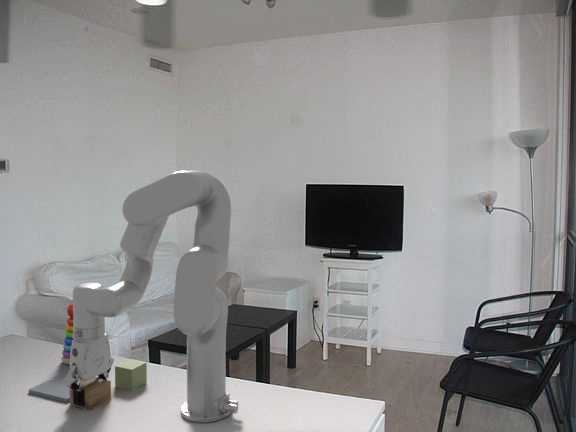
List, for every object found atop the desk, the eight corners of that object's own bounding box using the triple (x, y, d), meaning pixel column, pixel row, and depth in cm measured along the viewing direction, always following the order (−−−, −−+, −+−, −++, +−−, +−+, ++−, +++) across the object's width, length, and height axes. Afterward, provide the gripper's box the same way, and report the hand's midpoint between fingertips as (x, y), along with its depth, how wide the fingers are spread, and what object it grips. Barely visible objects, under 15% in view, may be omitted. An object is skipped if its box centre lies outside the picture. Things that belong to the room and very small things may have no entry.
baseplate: (106, 382, 146) (106, 379, 146) (67, 402, 134) (67, 399, 133) (69, 374, 152) (69, 371, 152) (28, 393, 139) (28, 389, 139)
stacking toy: (70, 367, 157) (69, 307, 156) (56, 361, 162) (55, 302, 161) (94, 360, 164) (92, 302, 162) (80, 354, 168) (78, 298, 167)
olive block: (146, 382, 147) (146, 362, 146) (132, 391, 141) (132, 369, 141) (129, 379, 149) (129, 359, 149) (115, 387, 144) (114, 366, 143)
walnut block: (111, 399, 136) (110, 381, 135) (90, 410, 130) (89, 390, 129) (91, 394, 139) (91, 376, 139) (70, 404, 133) (69, 385, 132)
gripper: (73, 344, 123) (75, 415, 125) (124, 324, 139) (125, 388, 141) (50, 339, 126) (52, 409, 128) (102, 321, 142) (103, 383, 144)
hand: (90, 398), depth 134 cm, fingers closed on walnut block, 7 cm apart
